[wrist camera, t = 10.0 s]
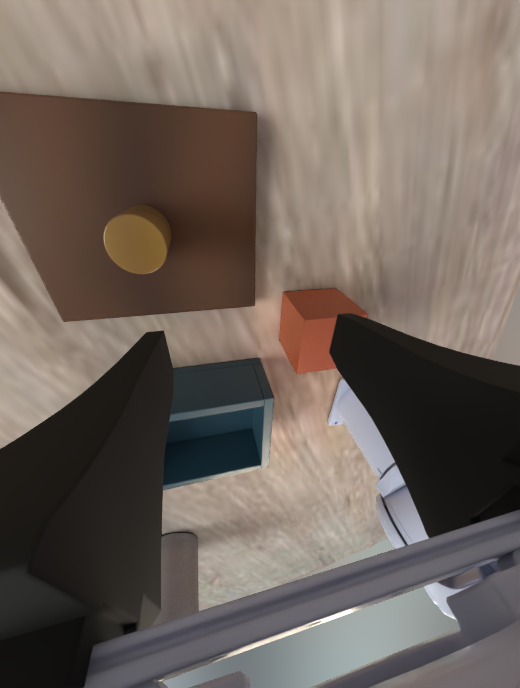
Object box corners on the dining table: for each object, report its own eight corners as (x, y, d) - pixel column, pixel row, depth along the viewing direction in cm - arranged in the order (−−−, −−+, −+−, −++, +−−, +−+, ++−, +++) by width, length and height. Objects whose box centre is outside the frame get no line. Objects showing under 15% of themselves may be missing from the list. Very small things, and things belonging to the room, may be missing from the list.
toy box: (259, 357, 22) (274, 397, 18) (257, 425, 28) (268, 467, 24) (117, 375, 20) (98, 426, 16) (146, 445, 26) (138, 495, 22)
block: (336, 287, 20) (368, 313, 16) (326, 334, 23) (352, 366, 19) (282, 291, 19) (304, 320, 15) (278, 340, 22) (296, 374, 18)
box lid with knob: (253, 115, 13) (278, 92, 9) (252, 300, 19) (267, 331, 15) (-39, 93, 10) (-166, 49, 7) (69, 315, 16) (34, 356, 13)
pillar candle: (181, 555, 45) (177, 692, 33) (126, 557, 40) (99, 719, 28) (208, 531, 42) (215, 675, 30) (152, 531, 37) (133, 701, 25)
